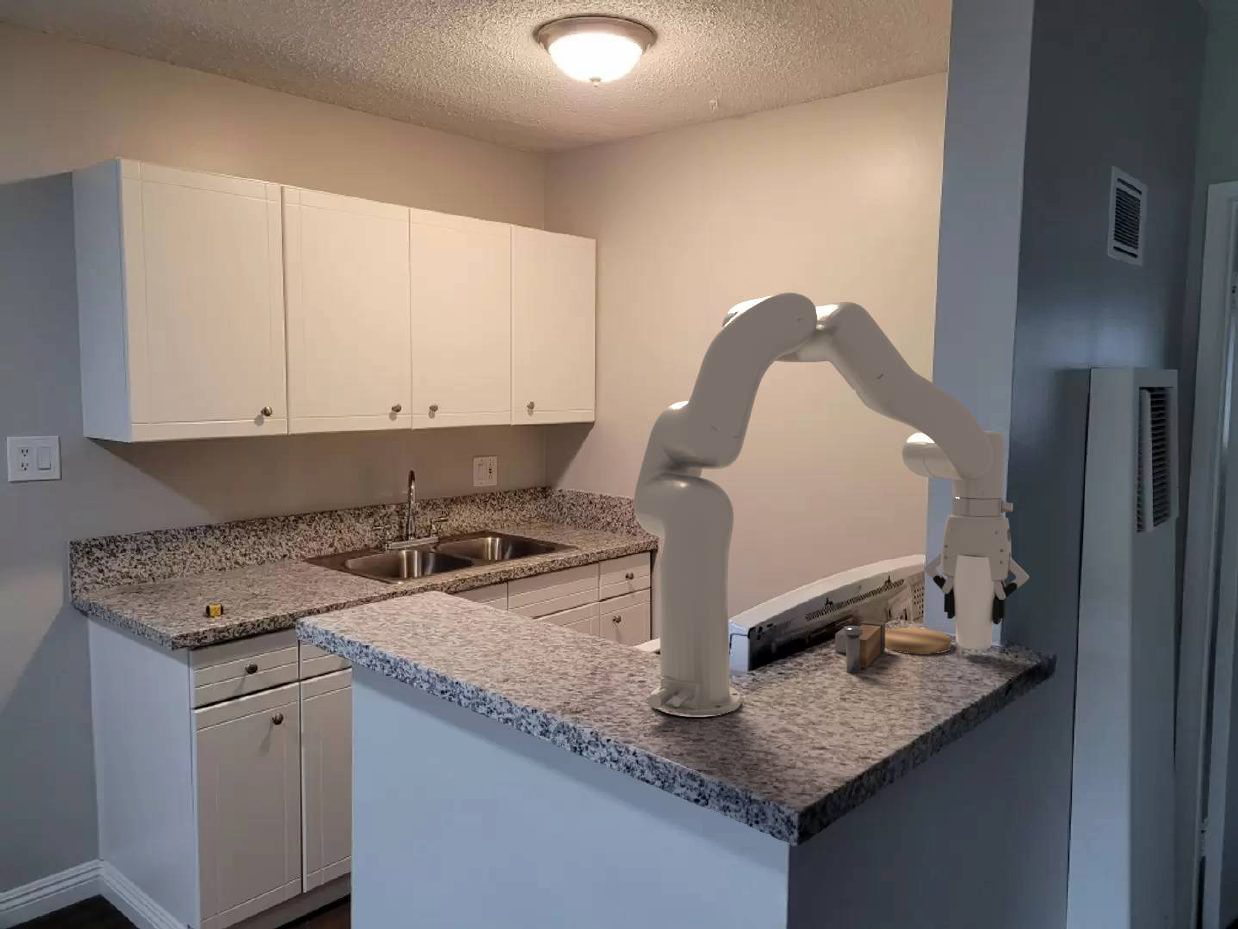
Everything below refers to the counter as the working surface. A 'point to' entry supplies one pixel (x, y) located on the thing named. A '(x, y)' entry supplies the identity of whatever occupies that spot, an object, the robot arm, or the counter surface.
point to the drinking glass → (973, 602)
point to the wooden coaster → (917, 640)
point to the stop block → (840, 641)
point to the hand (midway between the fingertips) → (974, 618)
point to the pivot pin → (853, 648)
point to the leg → (871, 641)
